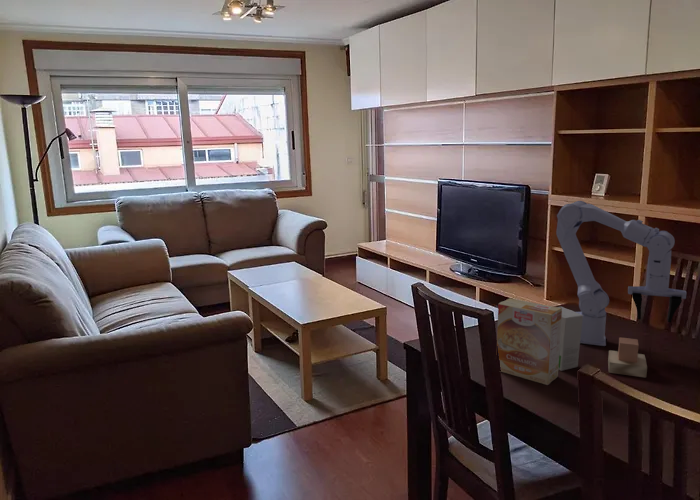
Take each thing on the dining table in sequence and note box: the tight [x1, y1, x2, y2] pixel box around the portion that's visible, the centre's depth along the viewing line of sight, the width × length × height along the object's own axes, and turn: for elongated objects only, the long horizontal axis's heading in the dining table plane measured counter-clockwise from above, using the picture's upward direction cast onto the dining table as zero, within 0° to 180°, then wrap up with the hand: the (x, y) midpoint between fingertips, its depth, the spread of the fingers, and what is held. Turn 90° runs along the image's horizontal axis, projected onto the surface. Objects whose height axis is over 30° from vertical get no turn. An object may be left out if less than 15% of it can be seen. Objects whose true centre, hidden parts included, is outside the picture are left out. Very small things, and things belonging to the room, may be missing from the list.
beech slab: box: [607, 349, 648, 378], centre depth 150 cm, size 9×9×3 cm
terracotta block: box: [617, 337, 640, 363], centre depth 149 cm, size 4×4×5 cm
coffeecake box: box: [496, 297, 562, 386], centre depth 147 cm, size 15×7×20 cm, turn 47°
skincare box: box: [556, 306, 583, 372], centre depth 153 cm, size 8×7×16 cm
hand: (653, 319), depth 158 cm, fingers open, 7 cm apart
